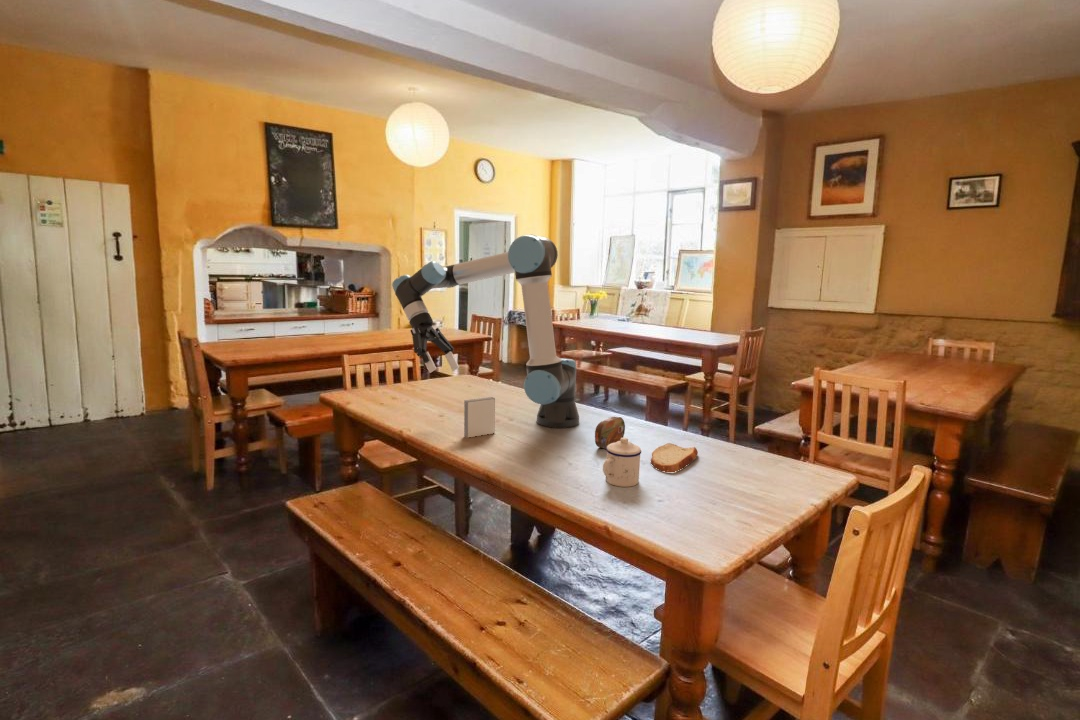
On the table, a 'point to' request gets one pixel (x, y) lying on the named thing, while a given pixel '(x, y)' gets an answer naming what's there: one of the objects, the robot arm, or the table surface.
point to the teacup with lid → (622, 463)
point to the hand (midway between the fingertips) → (444, 370)
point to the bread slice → (672, 457)
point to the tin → (609, 431)
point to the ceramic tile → (479, 417)
